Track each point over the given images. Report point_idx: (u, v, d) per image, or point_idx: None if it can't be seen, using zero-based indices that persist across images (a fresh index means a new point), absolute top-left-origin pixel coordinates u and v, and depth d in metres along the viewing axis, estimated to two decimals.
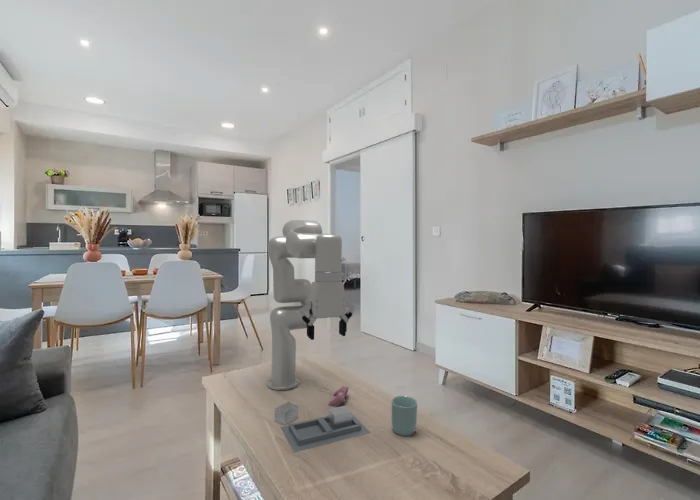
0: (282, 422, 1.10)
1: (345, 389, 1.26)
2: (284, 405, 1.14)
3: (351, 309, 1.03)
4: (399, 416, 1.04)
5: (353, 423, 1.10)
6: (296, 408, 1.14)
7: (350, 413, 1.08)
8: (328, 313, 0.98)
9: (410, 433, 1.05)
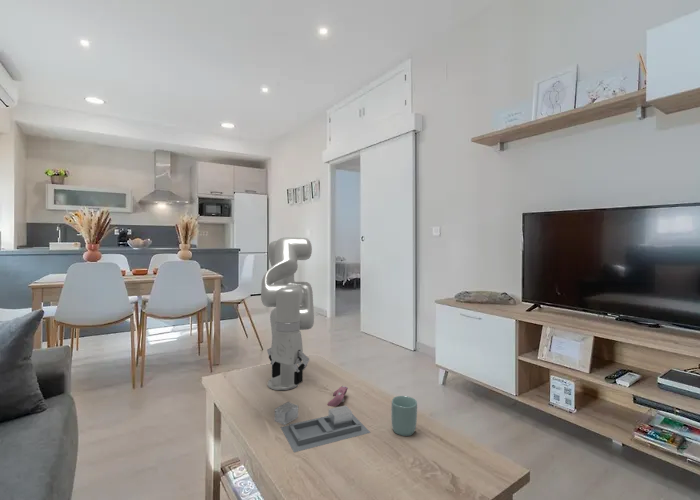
0: (282, 422, 1.10)
1: (344, 389, 1.26)
2: (284, 405, 1.14)
3: None
4: (399, 416, 1.04)
5: (353, 423, 1.10)
6: (296, 408, 1.13)
7: (350, 413, 1.08)
8: None
9: (410, 433, 1.05)
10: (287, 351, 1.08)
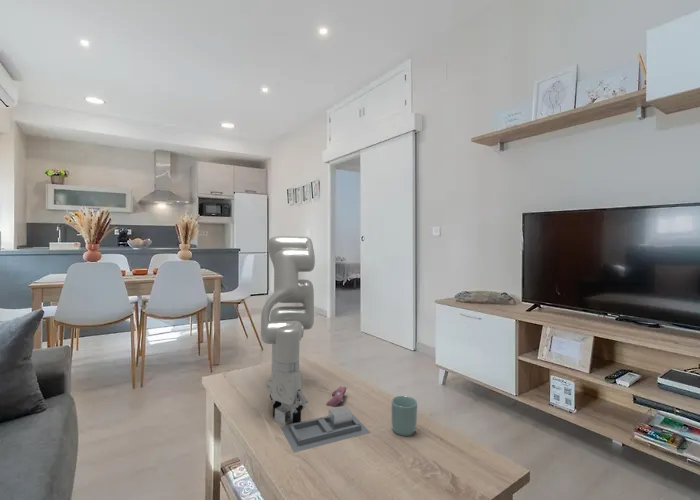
0: (282, 422, 1.10)
1: (343, 389, 1.26)
2: (284, 405, 1.14)
3: None
4: (399, 416, 1.04)
5: (353, 423, 1.10)
6: None
7: (350, 413, 1.08)
8: None
9: (410, 433, 1.05)
10: (287, 391, 1.09)
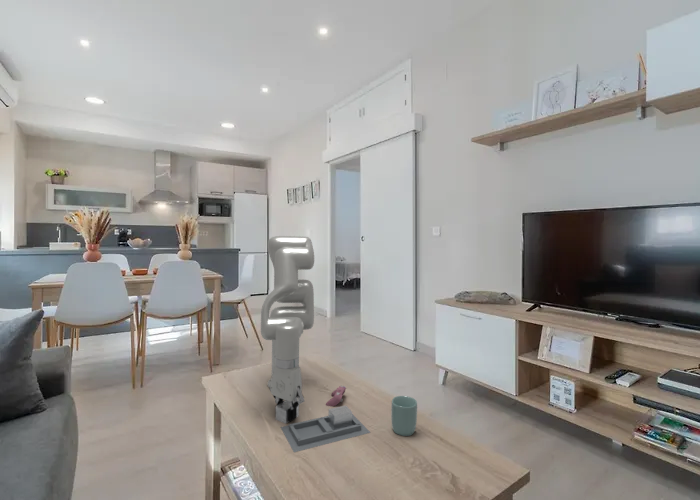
0: (283, 419, 1.11)
1: (342, 389, 1.26)
2: (285, 402, 1.15)
3: None
4: (399, 416, 1.04)
5: (353, 423, 1.10)
6: None
7: (350, 413, 1.08)
8: None
9: (410, 433, 1.05)
10: (286, 387, 1.09)
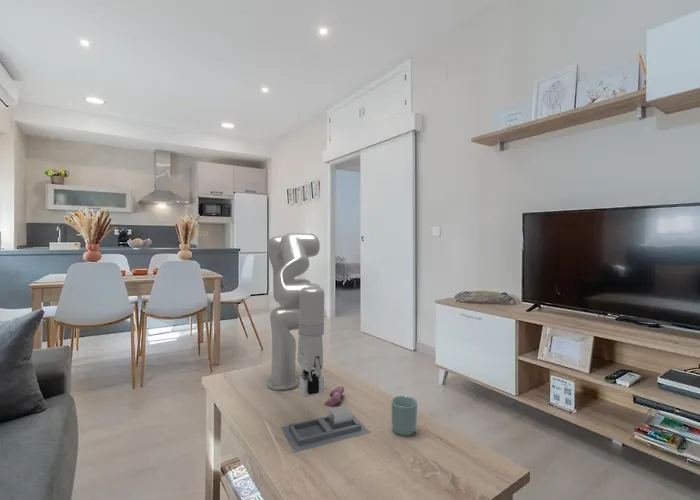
0: (303, 390, 1.02)
1: (341, 389, 1.26)
2: (312, 374, 1.06)
3: None
4: (399, 416, 1.04)
5: (353, 423, 1.10)
6: (321, 379, 1.03)
7: (350, 413, 1.08)
8: None
9: (410, 433, 1.05)
10: (305, 356, 1.00)
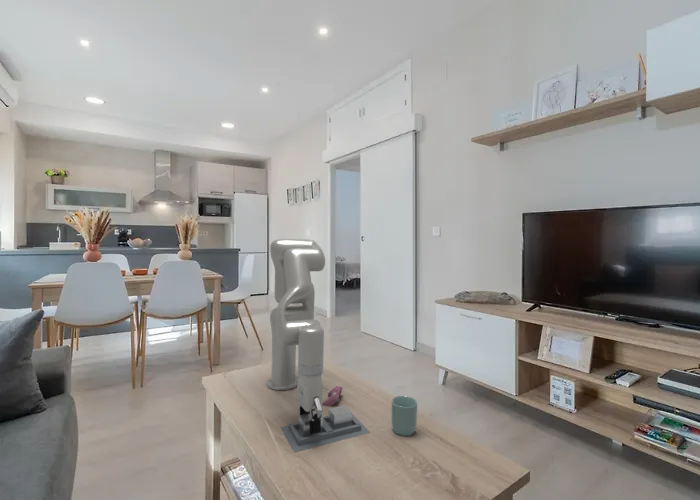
0: (302, 431, 1.03)
1: (339, 389, 1.26)
2: None
3: None
4: (399, 416, 1.04)
5: (353, 423, 1.10)
6: None
7: (350, 413, 1.08)
8: None
9: (410, 433, 1.05)
10: (304, 395, 1.01)
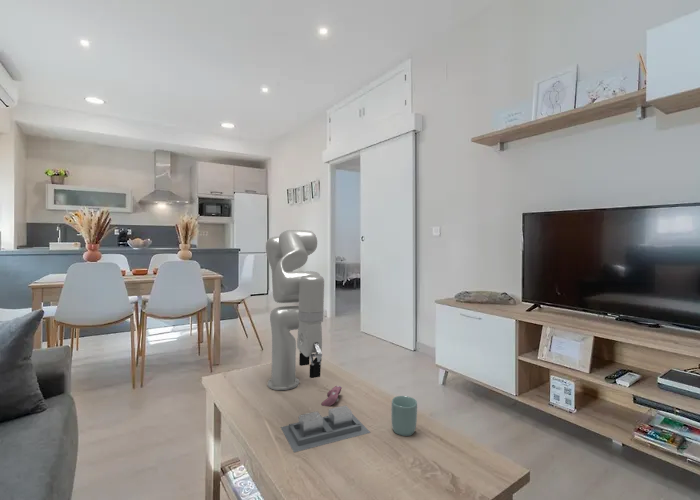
0: (302, 431, 1.03)
1: (338, 389, 1.26)
2: (311, 414, 1.06)
3: None
4: (399, 416, 1.04)
5: (353, 423, 1.10)
6: (320, 420, 1.04)
7: (350, 413, 1.08)
8: None
9: (410, 433, 1.05)
10: (304, 341, 1.03)
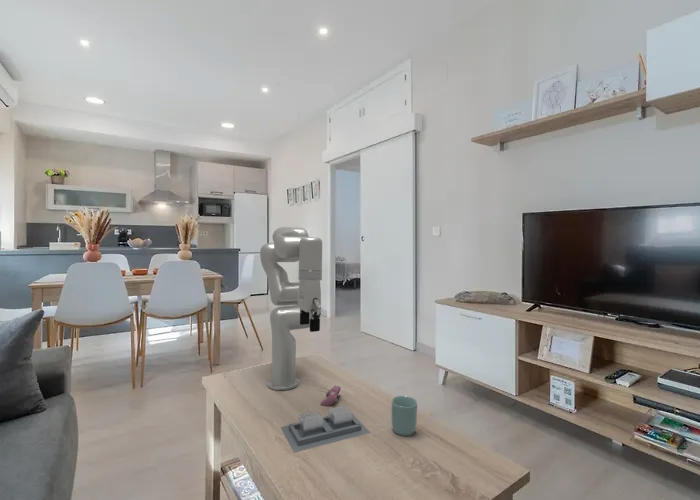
0: (302, 431, 1.03)
1: (337, 388, 1.26)
2: (311, 414, 1.06)
3: None
4: (399, 416, 1.04)
5: (353, 423, 1.10)
6: (320, 420, 1.04)
7: (350, 413, 1.08)
8: None
9: (410, 433, 1.05)
10: (304, 298, 1.10)
